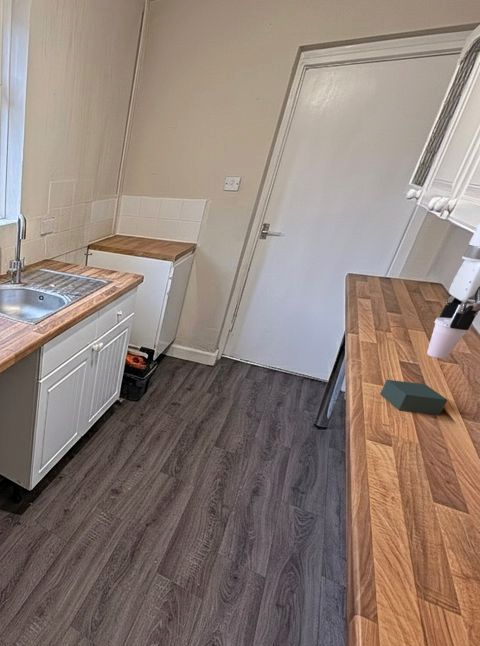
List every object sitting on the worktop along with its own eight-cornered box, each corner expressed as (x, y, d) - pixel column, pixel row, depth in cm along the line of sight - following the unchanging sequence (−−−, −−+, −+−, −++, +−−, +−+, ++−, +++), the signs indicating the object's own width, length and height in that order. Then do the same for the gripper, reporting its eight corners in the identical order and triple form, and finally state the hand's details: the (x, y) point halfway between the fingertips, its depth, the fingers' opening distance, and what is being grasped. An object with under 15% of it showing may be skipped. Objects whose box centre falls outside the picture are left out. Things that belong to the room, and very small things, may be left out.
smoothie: (446, 353, 110) (471, 303, 105) (460, 362, 105) (487, 311, 99) (414, 349, 113) (437, 300, 107) (426, 358, 107) (451, 307, 102)
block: (417, 398, 120) (425, 383, 118) (439, 415, 112) (447, 399, 110) (379, 394, 123) (386, 379, 121) (398, 410, 115) (406, 394, 113)
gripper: (531, 263, 90) (489, 338, 97) (494, 250, 103) (459, 317, 110) (481, 259, 93) (444, 332, 100) (451, 247, 107) (421, 312, 114)
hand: (453, 323), depth 105 cm, fingers closed on smoothie, 6 cm apart
